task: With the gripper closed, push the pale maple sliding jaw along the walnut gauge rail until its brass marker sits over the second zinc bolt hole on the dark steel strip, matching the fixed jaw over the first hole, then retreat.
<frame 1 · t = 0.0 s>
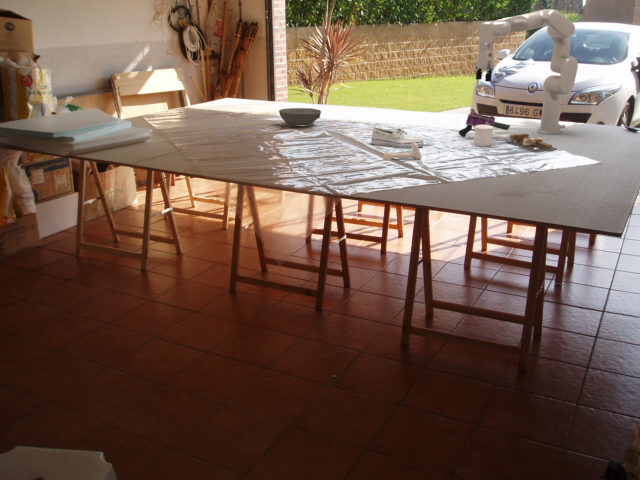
hand: (483, 80, 316), 31 cm above the table, tool pointing down, fingers open, 9 cm apart
sliding jaw: (532, 141, 303), point 3 cm above the table, slide at 2.0 cm
boat shoe: (396, 146, 313), on the table
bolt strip: (530, 146, 306), on the table
cup: (482, 145, 311), on the table
toy gun: (483, 138, 328), on the table
beige knobbed bar: (402, 159, 285), on the table
gauge rail: (533, 145, 306), resting on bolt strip
bowl: (300, 126, 372), on the table
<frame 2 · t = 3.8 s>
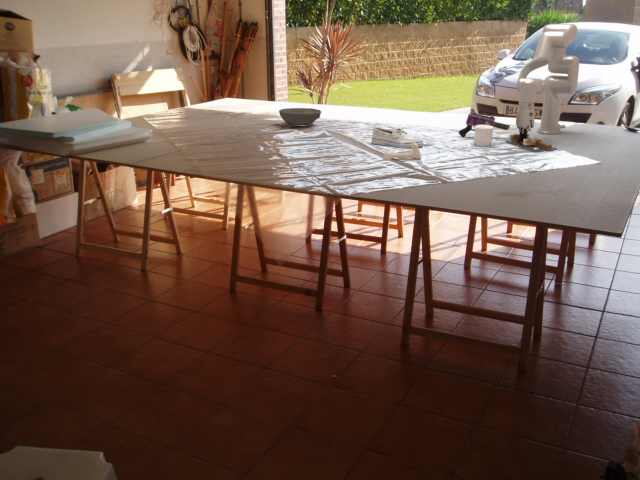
hand: (522, 140, 308), 2 cm above the table, tool pointing down, fingers closed
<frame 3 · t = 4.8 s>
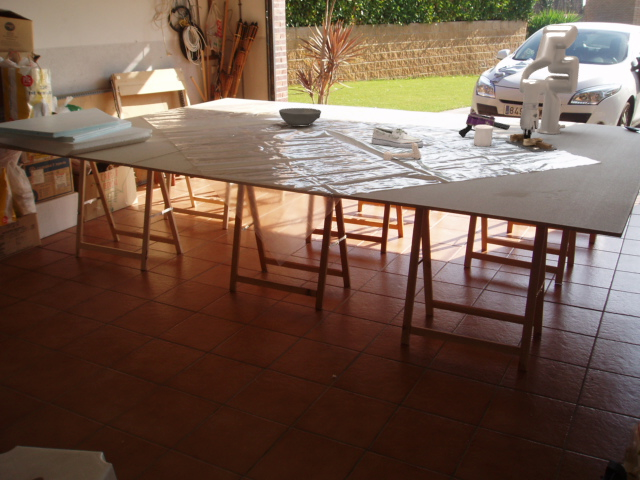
hand: (526, 142, 305), 2 cm above the table, tool pointing down, fingers closed
sliding jaw: (532, 141, 302), point 3 cm above the table, slide at 2.3 cm, touching gripper
everything else where it was.
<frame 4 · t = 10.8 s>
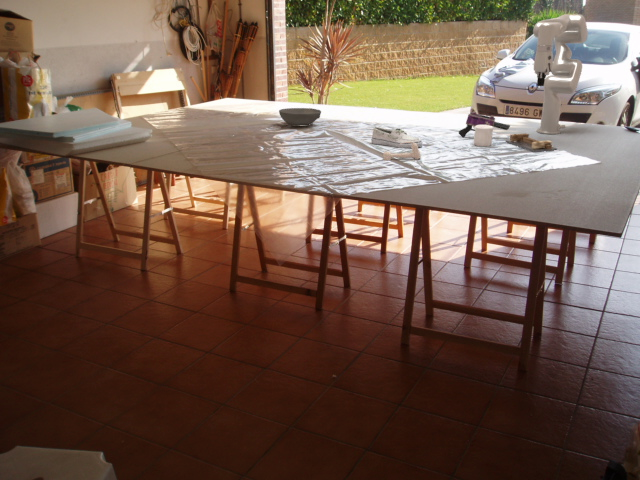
hand: (540, 85, 306), 29 cm above the table, tool pointing down, fingers closed
sliding jaw: (541, 144, 296), point 3 cm above the table, slide at 9.6 cm
everything else where it was.
at the end: sliding jaw slide at 9.6 cm; sliding jaw touching nothing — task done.
